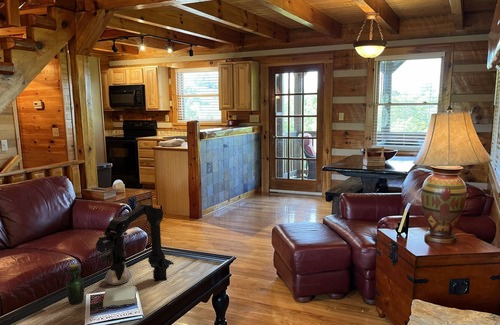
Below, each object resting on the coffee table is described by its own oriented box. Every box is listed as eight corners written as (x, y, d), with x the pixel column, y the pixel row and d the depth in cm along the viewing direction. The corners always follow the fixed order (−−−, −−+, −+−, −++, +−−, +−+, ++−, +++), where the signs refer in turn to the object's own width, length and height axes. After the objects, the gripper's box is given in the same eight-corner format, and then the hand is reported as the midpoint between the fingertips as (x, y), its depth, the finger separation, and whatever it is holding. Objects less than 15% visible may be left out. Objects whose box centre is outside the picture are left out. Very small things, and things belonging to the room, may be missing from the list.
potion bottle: (70, 297, 190) (68, 262, 187) (88, 297, 190) (86, 261, 188) (64, 305, 181) (61, 268, 179) (82, 305, 182) (80, 268, 180)
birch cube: (126, 276, 190) (125, 264, 189) (125, 281, 184) (125, 269, 184) (113, 277, 188) (112, 265, 188) (112, 282, 183) (111, 270, 182)
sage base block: (135, 291, 196) (135, 285, 196) (135, 304, 183) (134, 298, 182) (105, 295, 192) (105, 289, 192) (103, 308, 179) (103, 302, 178)
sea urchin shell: (136, 280, 210) (135, 266, 209) (113, 288, 199) (112, 273, 199) (122, 274, 218) (122, 260, 217) (99, 282, 208) (99, 267, 207)
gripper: (101, 241, 191) (103, 272, 193) (97, 254, 173) (99, 287, 175) (125, 239, 194) (126, 269, 196) (124, 251, 176) (125, 284, 178)
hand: (119, 277), depth 186 cm, fingers closed on birch cube, 6 cm apart
